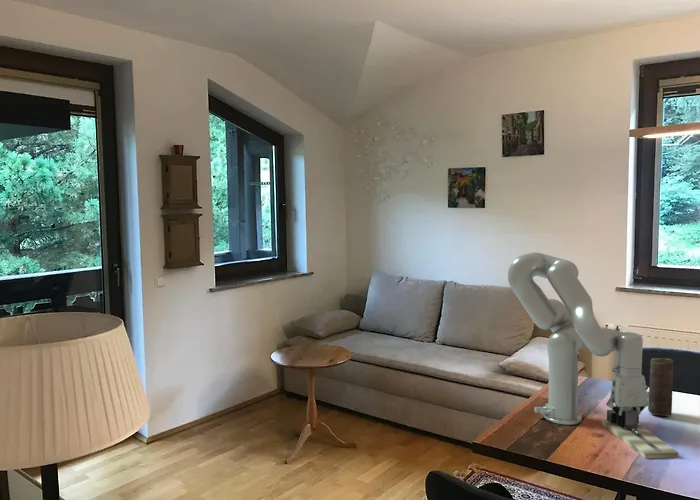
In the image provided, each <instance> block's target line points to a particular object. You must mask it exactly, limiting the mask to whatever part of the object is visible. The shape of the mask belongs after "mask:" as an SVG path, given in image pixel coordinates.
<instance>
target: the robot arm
mask: <svg viewBox="0 0 700 500" xmlns="http://www.w3.org/2000/svg"><path fill="white" fill-rule="evenodd" d="M578 276H579V268H578V266H577V265H576V264H575V263H574V262H572V261H571V260H568V259H563V258H560V257H557V256H553V255H549V254H545V253H541V252H529V253H525V254H522V255H519V256H518V257H516V258H515V259H514V260H513V261H512V262H511V264H510V266H509V268H508V270H507V281H508V285H509V287H510V289H511V291H512V293H514V295H515V297H516V298H517V299H518V301H519V302H520V303H521V305H522V306H523V308H524V310H525V311H526V312H527V314H528V315H529V317H530V318H531V320H532V322H533V323H534V324H535V326H537V327H538V328H539V329H541V330H546V331H547V330H550V331H551V332H552V333H551V334H550V336H549V338H548V339H547V343H546V344H547V356H548V401H547V402H546V403H545V405H542V406H534V413H535V414H536V413H540V414H541V415H543V418H544V419H545V420H546V421H548V422H551V423H554V424H557V425H558V424H559V425H567V426H569V425H570V426H571V425H578V424H580V423H582V420H583V416H582V415H581V414H580V412H578V403H579V402H578V400H579V399H578V397H579V396H578V395H579V390H578V389H579V388H578V387H579V363H578V351H579V350H580V349H582V347H583V346H585V347H586V348H587V350H589V352H590V353H591V354H593V355H595V356H596V357H607V356H608V355H610V354H611V353H613V352H616V356H615V357H616V361H615V367H612V369H611V370H612V372H613V378H612V382H611V387H610V388H611V389H610V396H609V399H608V401H606V406H607V407H608V408H610V410H614V411H615V412H616V423H617V424H618V425H619V426H620V427H624V416H623V415H622V413H623V409H624V407H632V408H633V409H635V410H636V411H638V422H637V427H638V424H639V422H640V421H639V419H640V418H639V417H640V415H641V414H642V412H643V410H645V408H648V405H649V402H648V400H649V399H648V398H647V397H648V393H647V392H648V390H646V386H647V385H646V383H647V382H646V378H645V376H644V375H643V374H642V373H643V346H644V345H643V343H644V340H643V336H642V335H641V334H639V333H636V332H631V331H630V332H629V331H619V330H617V329H616V330H615V329H611V328H602V327H601V325H600V324H599V322H598V321H597V319H596V317H595V316H596V315H595V314H594V309H593V300H592V297H591V295H590V294H589V293H588V292H587V289H586V288H585V287H584V285H582V283H581V281H580V280H579V278H578ZM534 277H540V278H544V279H547V281H548V282H549V283H550V286H551V288H552V289H553V290H554V291H555V293H556V294H557V296H558V298H560V300H558V299H555V298H548V296H547V295H546V294H545V291H544V290H543V289H542V288H541V287H540V285H538V284H537V283H536V281H535V280H534ZM561 301H562V302H561ZM615 404H616V406H615Z"/></svg>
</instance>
